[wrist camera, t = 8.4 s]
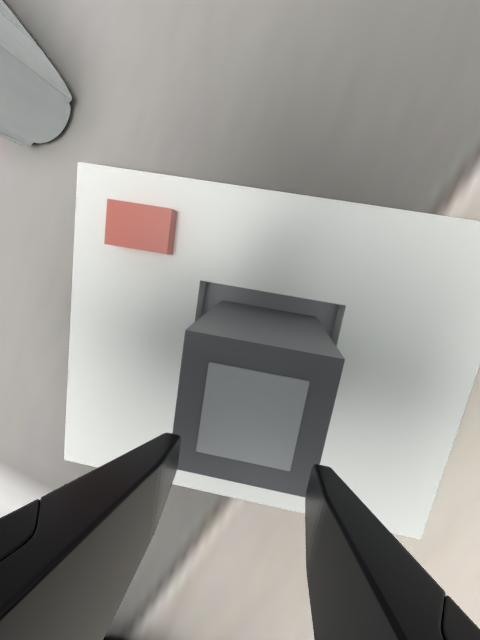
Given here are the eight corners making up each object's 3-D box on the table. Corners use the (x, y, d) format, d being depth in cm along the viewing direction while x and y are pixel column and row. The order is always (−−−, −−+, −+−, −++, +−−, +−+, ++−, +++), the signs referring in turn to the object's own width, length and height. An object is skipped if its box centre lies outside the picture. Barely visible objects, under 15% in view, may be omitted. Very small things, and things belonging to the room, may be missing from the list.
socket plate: (405, 510, 19) (427, 553, 16) (84, 440, 20) (54, 468, 17) (494, 231, 15) (542, 226, 12) (100, 172, 17) (66, 156, 14)
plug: (297, 404, 17) (311, 500, 11) (209, 386, 18) (167, 468, 11) (316, 316, 16) (345, 359, 9) (222, 300, 17) (184, 330, 10)
